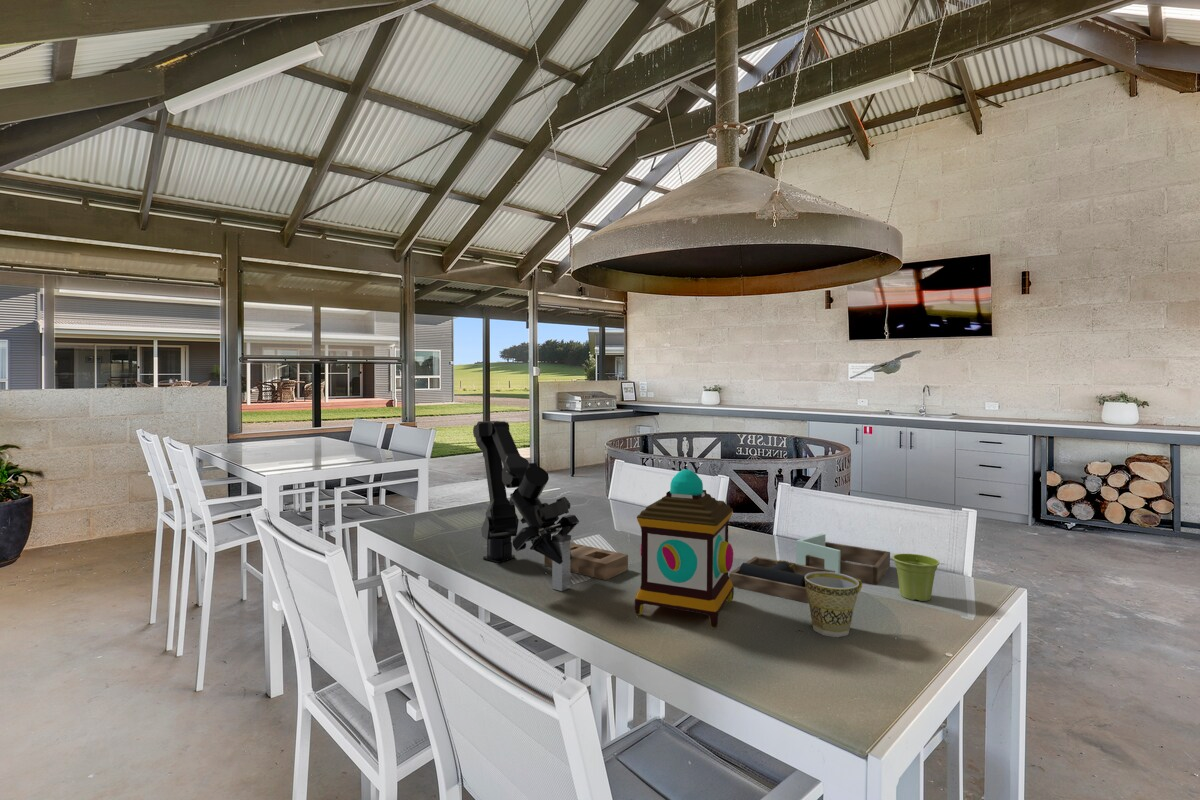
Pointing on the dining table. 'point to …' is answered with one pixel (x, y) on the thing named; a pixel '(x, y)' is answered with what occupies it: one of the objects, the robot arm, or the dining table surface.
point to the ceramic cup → (831, 601)
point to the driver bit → (561, 570)
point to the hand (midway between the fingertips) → (565, 561)
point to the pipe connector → (775, 572)
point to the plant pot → (915, 575)
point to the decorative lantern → (686, 550)
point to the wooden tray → (773, 586)
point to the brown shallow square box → (860, 556)
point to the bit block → (595, 562)
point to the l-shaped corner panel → (817, 552)
